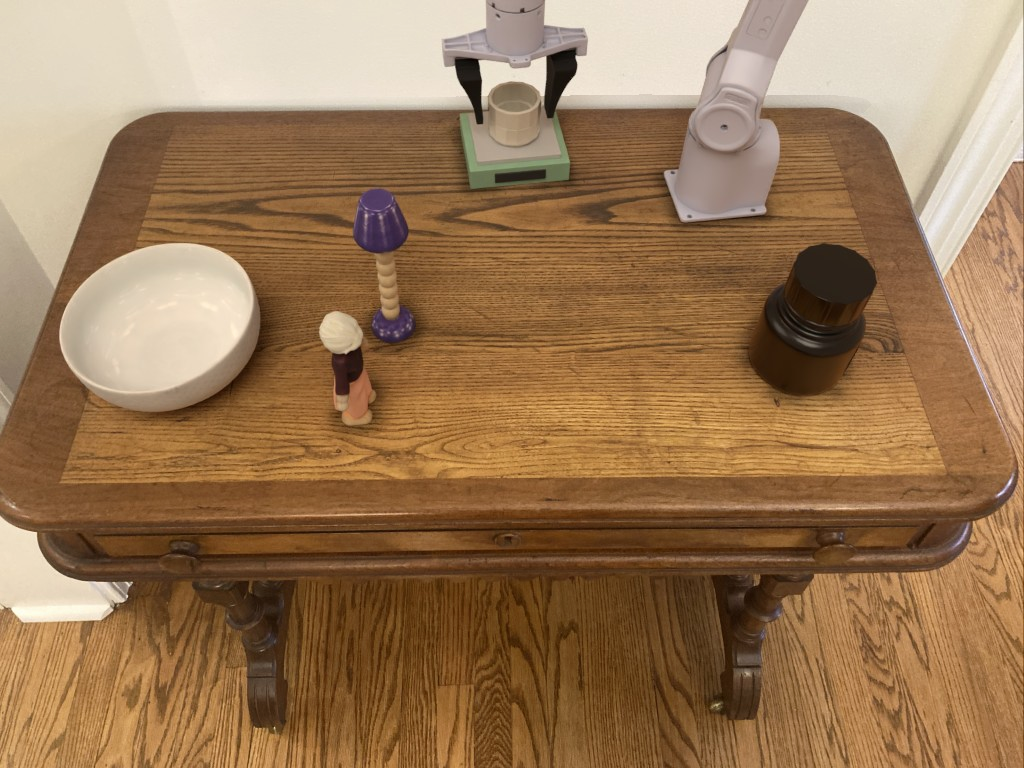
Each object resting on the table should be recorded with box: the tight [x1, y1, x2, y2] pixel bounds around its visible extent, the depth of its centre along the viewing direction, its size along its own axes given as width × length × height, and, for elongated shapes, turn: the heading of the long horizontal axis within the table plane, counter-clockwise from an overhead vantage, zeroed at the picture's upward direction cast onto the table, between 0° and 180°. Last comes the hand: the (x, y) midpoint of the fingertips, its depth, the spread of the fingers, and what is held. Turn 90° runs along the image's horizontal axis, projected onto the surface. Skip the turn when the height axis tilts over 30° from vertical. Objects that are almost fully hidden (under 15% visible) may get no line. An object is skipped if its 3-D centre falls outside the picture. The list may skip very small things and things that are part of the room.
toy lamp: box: [352, 187, 417, 344], centre depth 76 cm, size 5×5×17 cm
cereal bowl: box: [58, 242, 262, 413], centre depth 77 cm, size 17×17×7 cm
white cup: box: [487, 80, 542, 147], centre depth 93 cm, size 6×6×5 cm
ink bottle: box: [748, 242, 878, 397], centre depth 76 cm, size 10×9×12 cm
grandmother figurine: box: [318, 310, 377, 427], centre depth 72 cm, size 8×4×13 cm, turn 5°
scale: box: [459, 105, 571, 190], centre depth 96 cm, size 11×10×3 cm
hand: (513, 115), depth 93 cm, fingers open, 7 cm apart
